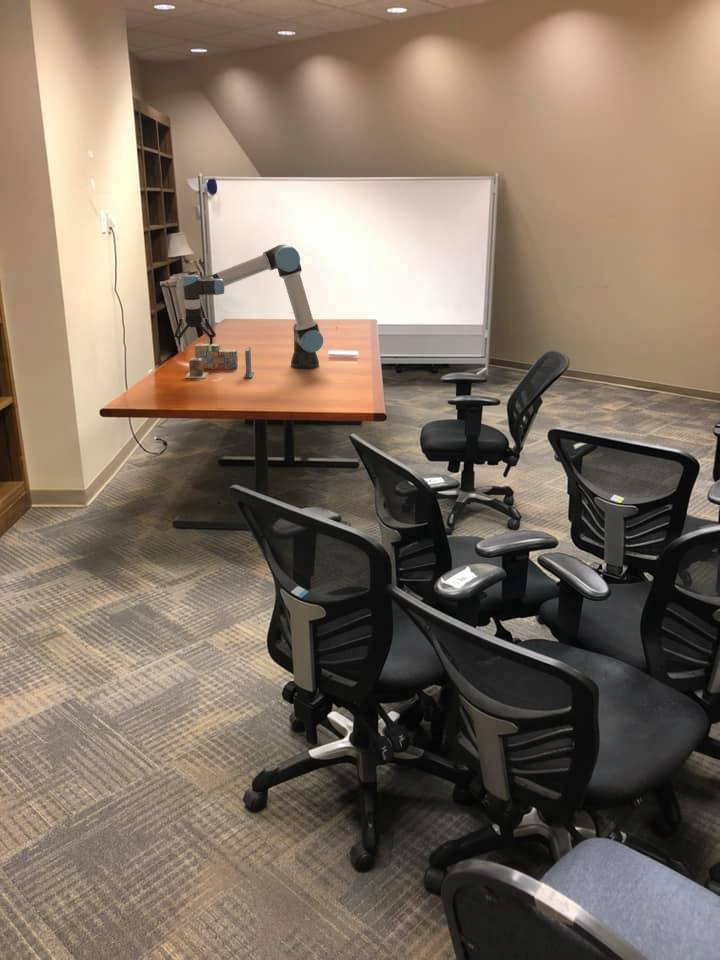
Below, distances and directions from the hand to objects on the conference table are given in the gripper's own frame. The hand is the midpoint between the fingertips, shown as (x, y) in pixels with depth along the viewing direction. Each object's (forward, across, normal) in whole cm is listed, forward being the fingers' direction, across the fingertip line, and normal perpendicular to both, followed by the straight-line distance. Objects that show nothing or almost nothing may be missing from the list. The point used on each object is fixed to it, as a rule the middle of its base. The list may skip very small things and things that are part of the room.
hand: (196, 351), depth 380 cm
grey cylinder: (+12, +1, 0) cm, 12 cm away
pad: (+12, +1, 0) cm, 12 cm away
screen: (+13, -25, 0) cm, 29 cm away
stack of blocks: (+13, -7, -20) cm, 25 cm away
